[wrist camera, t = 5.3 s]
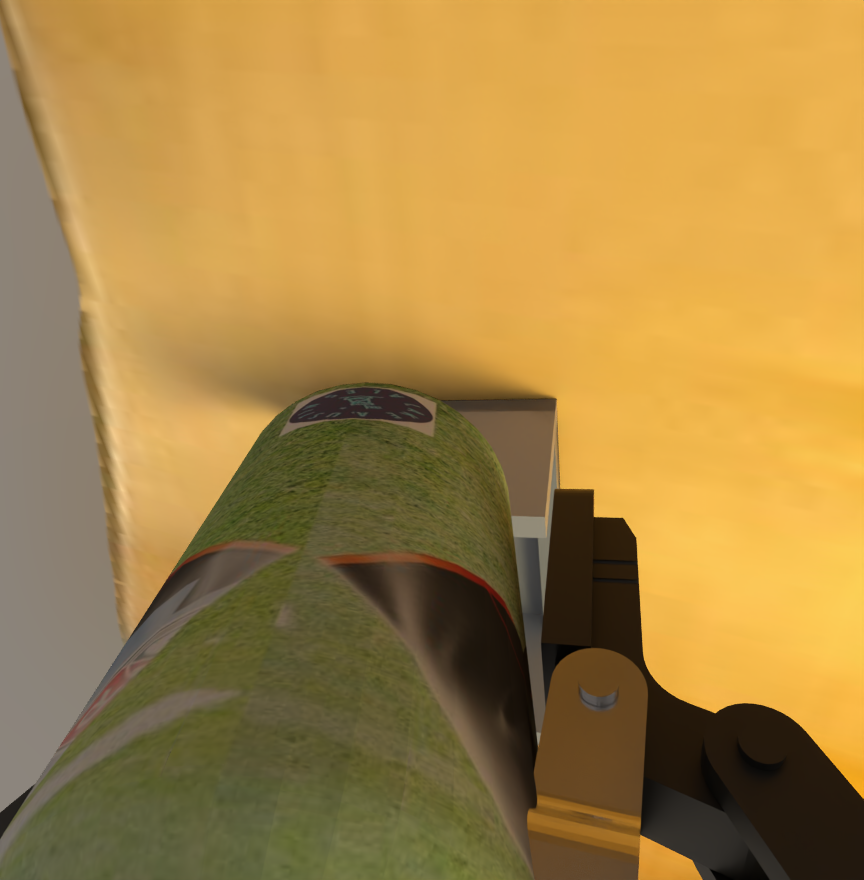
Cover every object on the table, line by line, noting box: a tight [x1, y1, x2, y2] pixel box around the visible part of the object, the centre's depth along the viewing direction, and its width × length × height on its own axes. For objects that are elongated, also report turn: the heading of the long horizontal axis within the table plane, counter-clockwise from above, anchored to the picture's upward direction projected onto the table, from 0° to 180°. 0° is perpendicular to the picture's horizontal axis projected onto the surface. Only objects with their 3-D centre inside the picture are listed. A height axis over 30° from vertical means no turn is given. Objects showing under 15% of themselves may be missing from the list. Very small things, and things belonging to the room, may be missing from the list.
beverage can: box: [0, 383, 538, 880], centre depth 11 cm, size 6×7×12 cm
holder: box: [441, 399, 560, 745], centre depth 32 cm, size 14×12×8 cm
